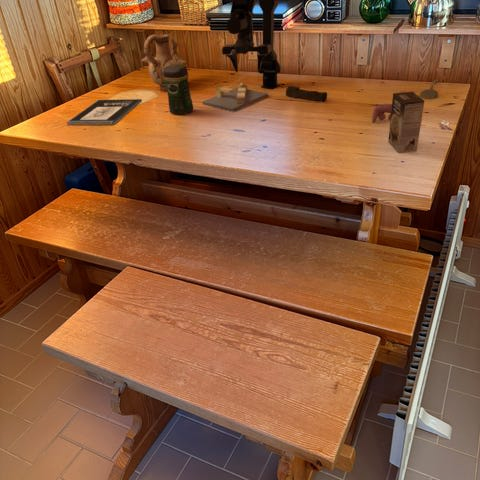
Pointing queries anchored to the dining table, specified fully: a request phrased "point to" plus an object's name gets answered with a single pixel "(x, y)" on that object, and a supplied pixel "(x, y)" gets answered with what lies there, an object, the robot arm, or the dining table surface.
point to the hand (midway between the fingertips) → (247, 72)
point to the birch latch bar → (241, 94)
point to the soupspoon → (430, 92)
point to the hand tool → (305, 94)
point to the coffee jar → (178, 89)
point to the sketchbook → (104, 112)
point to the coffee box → (405, 121)
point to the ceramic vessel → (161, 58)
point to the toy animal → (381, 112)
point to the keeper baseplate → (233, 98)
